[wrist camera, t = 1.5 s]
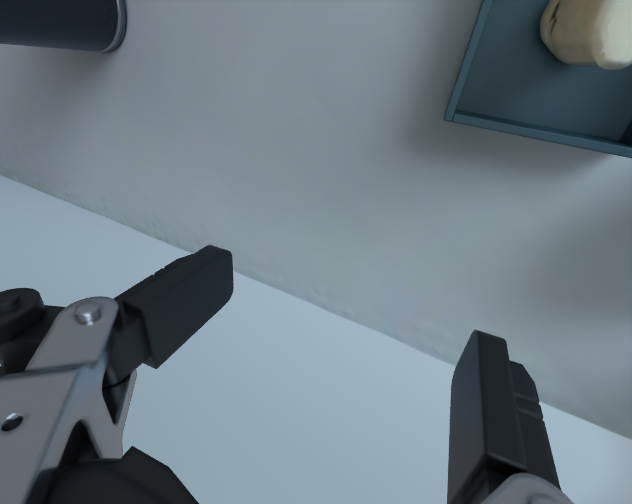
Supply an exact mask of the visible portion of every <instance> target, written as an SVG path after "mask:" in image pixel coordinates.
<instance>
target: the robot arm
mask: <svg viewBox="0 0 632 504" xmlns="http://www.w3.org/2000/svg"><path fill="white" fill-rule="evenodd" d="M125 28H126V7H125V1H124V0H0V44H9V45H22V46H34V47H47V48H59V49H70V50H83V51H90V52H95V53H109V52H112V51H113V50H115V49H116V48H117V47H118V46H119V44H120V43H121V41H122V39H123V36H124V33H125ZM232 293H233V263H232V254H231V252H230V251H228V250H225V249H222V248H218V247H215V246H212V245H208V246H206V247H204V248H203V249H201V250H199V251H198V252H196V253H195V254H191V255H188V256H185V257H182V258H179V259H176V260H175V261H173V262H172V263H170V264H168V265H167V266H165V268H164V269H163V268H162V269H160V270H159V271H157V272H156V273H155V274H154V275H151V276H149V277H148V278H146V279H144V280H143V281H141V282H140V283H138V284H136V285H135V286H133V287H131V288H130V289H128V290H127V291H125V292H123V293H122V294H120V295H119V296H117V297H115V298H114V299H112V298H109V297H101V296H100V297H90V298H85V299H82V300H79V301H77V302H74V303H72V304H70V305H69V306H67V307H58V306H48V305H44V303H43V301H42V298H41V296H40V294H39V292H38V291H36V290H34V289H30V288H16V289H10V290H6V291H3V292H0V364H1V367H0V504H199V503H198V502H197V501H196V500H195V498H194V497H193V496H192V495H191V494H190V492H189V491H188V490H187V489H186V487H185V486H184V485H183V484H182V482H181V481H180V480H179V479H178V478H177V476H176V475H175V474H174V473H173V471H172V470H171V469H170V468H169V467H168V466H166V465H164V464H163V463H161V462H159V461H158V460H156V459H154V458H152V457H151V456H149V455H147V454H145V453H144V452H142V451H140V450H138V449H137V448H135V447H133V446H132V447H131V448H130V449H129V450H128V451H127V452H126V453H125V454H124V455H123V448H122V436H123V429H124V425H125V421H126V417H127V413H128V409H129V405H130V401H131V397H132V393H133V389H134V385H135V381H136V376H137V371H136V368H137V367H138V366H139V365H141V364H142V363H144V364H146V365H148V366H151V367H153V368H155V369H157V368H158V367H159V366H160V365H161V364H163V363H164V362H165V361H166V360H167V359H168V358H169V357H170V356H171V355H172V354H173V353H174V352H175V351H176V350H177V349H178V348H180V347H181V346H182V345H183V344H184V343H185V342H186V341H187V340H188V339H189V338H190V337H191V336H192V335H193V334H195V333H196V332H197V331H198V329H200V328H201V327H202V326H203V325H204V324H205V323H206V322H207V321H208V320H209V319H210V318H212V317H213V316H214V315H215V314H216V313H217V312H218V311H219V310H220V309H221V308H222V307H223V306H224V305H225V304H226V303H227V302H228V301H229V299H230V298H231V295H232ZM542 419H543V414H542V410H541V406H540V405H539V398H538V394H537V390H536V386H535V383H534V381H533V380H532V378H531V377H530V375H529V374H528V372H527V371H526V369H525V368H524V366H523V365H522V364H519V363H516V362H513V361H510V360H509V356H508V350H507V344H506V341H505V339H503V338H500V337H497V336H494V335H491V334H487V333H484V332H481V331H478V330H474V331H473V332H472V334H471V336H470V338H469V340H468V342H467V345H466V347H465V349H464V351H463V353H462V355H461V357H460V359H459V362H458V364H457V366H456V368H455V372H454V375H453V379H452V385H451V407H450V436H449V464H448V493H447V504H574V503H573V502H572V501H571V500H570V499H569V498H568V497H567V496H566V495H565V494H564V493H563V492H562V491H561V488H560V485H559V481H558V477H557V472H556V468H555V464H554V460H553V456H552V452H551V448H550V443H549V440H548V435H547V431H546V427H545V423H544V421H543V420H542Z"/></svg>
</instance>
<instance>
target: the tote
mask: <svg viewBox="0 0 632 504" xmlns="http://www.w3.org/2000/svg"><path fill="white" fill-rule="evenodd" d="M549 1H550V0H483V1H482V4H481V7H480V10H479V13H478V16H477V19H476V22H475V25H474V28H473V31H472V34H471V37H470V40H469V43H468V46H467V49H466V52H465V55H464V58H463V61H462V64H461V67H460V70H459V73H458V76H457V79H456V82H455V85H454V88H453V91H452V94H451V97H450V100H449V103H448V106H447V109H446V112H445V115H444V120H445V121H450V122H451V121H452V122H455V123H460V124H465V125H470V126H475V127H480V128H485V129H490V130H495V131H500V132H505V133H510V134H515V135H519V136H524V137H529V138H534V139H539V140H544V141H549V142H554V143H559V144H564V145H569V146H574V147H579V148H584V149H589V150H594V151H599V152H603V153H608V154H613V155H618V156H623V157H628V158H632V64H631V65H629V66H627V67H625V68H622V69H618V70H607V69H603V68H602V67H600V66H577V65H570V64H564V63H562V62H558V61H554V60H553V58H552V56H551V53H550V50H549V49H548V48H547V46H546V45H545V44H544V42H543V41H542V38H541V34H540V20H541V17H542V14H543V12H544V10H545V9H546V7H547V5H548V3H549Z"/></svg>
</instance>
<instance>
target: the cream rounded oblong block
mask: <svg viewBox="0 0 632 504" xmlns="http://www.w3.org/2000/svg"><path fill="white" fill-rule="evenodd" d="M540 34H541V38H542V41H543V42H544V44H545V45H546V46H547V48H548V49H549V50H550V53H551V56H552V58H553V60H554V61H558V62H562V63H564V64H570V65H577V66H600V67H602V68H603V69H607V70H618V69H622V68H625V67H627V66H629V65H631V64H632V0H550V1H549V3H548V5H547V7H546V9H545V10H544V12H543V14H542V17H541V20H540Z"/></svg>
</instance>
